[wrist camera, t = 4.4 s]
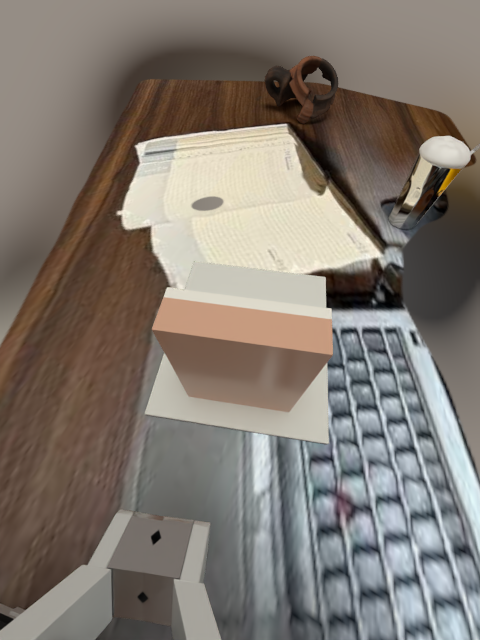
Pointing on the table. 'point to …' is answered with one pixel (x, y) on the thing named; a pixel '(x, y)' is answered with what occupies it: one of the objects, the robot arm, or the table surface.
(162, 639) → the table surface
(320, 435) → the mat
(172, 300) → the tile
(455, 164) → the milkshake
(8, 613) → the smartphone
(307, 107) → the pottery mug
